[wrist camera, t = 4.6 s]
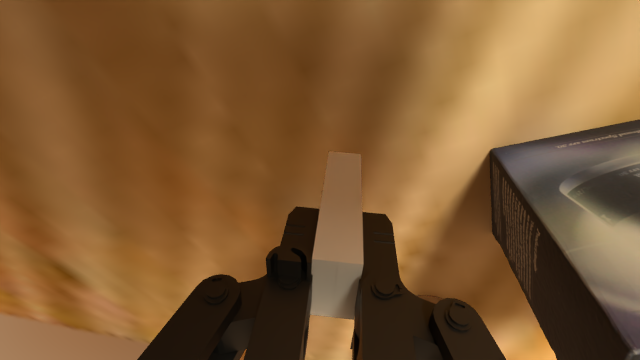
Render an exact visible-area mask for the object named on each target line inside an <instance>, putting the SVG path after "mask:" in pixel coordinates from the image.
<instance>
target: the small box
mask: <svg viewBox="0 0 640 360" xmlns="http://www.w3.org/2000/svg"><path fill="white" fill-rule="evenodd" d="M490 178H491V207H492V232H493V235H494V237H495V239H496V240H497V241H498V243H499V244H500V245H501V247H502V249H503V252H504V253H505V256H506V258H507V259H508V261H509V264H510V266H511V268H512V270H513V272H514V274H515V276H516V278H517V279H518V281H519V283H520V286H521V288H522V290H523V292H524V293H525V296H526V298H527V300H528V302H529V304H530V306H531V308H532V310H533V312H534V314H535V316H536V318H537V320H538V322H539V324H540V327H541V329H542V330H543V333H544V335H545V337H546V338H547V340H548V342H549V344H550V346H551V348H552V349H553V351H554V353H555V355H556V358H557V360H640V120H635V121H630V122H625V123H620V124H615V125H610V126H605V127H600V128H595V129H590V130H585V131H580V132H575V133H570V134H565V135H560V136H555V137H550V138H544V139H539V140H534V141H529V142H524V143H520V144H514V145H509V146H504V147H499V148H493V149H491V151H490Z"/></svg>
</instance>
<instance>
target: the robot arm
mask: <svg viewBox="0 0 640 360" xmlns="http://www.w3.org/2000/svg"><path fill="white" fill-rule="evenodd" d="M393 234H394V233H393V226H392V223H391V221H390V220H389V218H388V217H387V216H386V214H376V213H366V212H362V170H361V154H355V153H344V152H332V151H329V152H328V159H327V165H326V172H325V178H324V185H323V191H322V198H321V204H320V209H316V208H305V207H295V208H294V210H293V211H292V212H291V213H290V214H289V215H288V219H287V223H286V226H285V230H284V234H283V237H282V241H281V244H280V246H278V247H276V248H274V249H273V250H272V251H270V252H269V254H268V256H267V257H266V266H267V274H266V275H265V276H263V277H261V278H259V279H256V280H252V281H247V282H241V283H238V282H237V280H236V279H235V278H233V277H231V276H229V275H223V274H220V275H214V276H211V277H209V278H207V279H204V280H203V281H202V282H201V283H200V284H199V285H198V286H197V287H196V288H195V289H194V290H193V292H192V293H191V294H190V295H189V296H188V298H187V299H186V300H185V301H184V303H183V304H182V305H181V306H180V308H179V309H178V310H177V311H176V313H175V314H174V315H173V316H172V317H171V319H170V320H169V321H168V322H167V324H166V325H165V326H164V327H163V329H162V330H161V331H160V332H159V333H158V335H157V336H156V337H155V338H154V340H153V341H152V342H151V343H150V345H149V346H148V347H147V349H146V350H145V351H144V352H143V353H142V355H141V356H140V357H139V358H138V359H137V360H240V358H241V356H242V354H243V352H244V351H245V349H247V350H246V354H245V357H244V360H305V354H306V346H307V339H308V330H309V317H310V315H318V316H326V317H335V318H344V319H353V320H354V332H353V337H352V343H351V348H350V349H353V351H352V360H506V358H505V357H504V355H503V354H502V352H501V350H500V349H499V347H498V345H497V344H496V342H495V340H494V339H493V337H492V335H491V334H490V332H489V330H488V329H487V327H486V325H485V324H484V322H483V320H482V319H481V317H480V316H479V315H478V313H477V312H476V311H475V310H474V309H473V308H472V307H471V306H469V305H468V304H466V303H465V302H463V301H460V300H457V299H451V298H446V299H443V300H440V301H439V302H438V303H437V304H434V303H432V302H429V301H427V300H424V299H422V298H420V297H418V296H416V295H414V294H412V293H411V292H410V291H408V290H407V288H406V287H405V286H404V285H403V283H402V282H401V280H400V276H399V270H398V263H397V255H396V248H395V241H394V236H393ZM354 316H355V319H354Z"/></svg>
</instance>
